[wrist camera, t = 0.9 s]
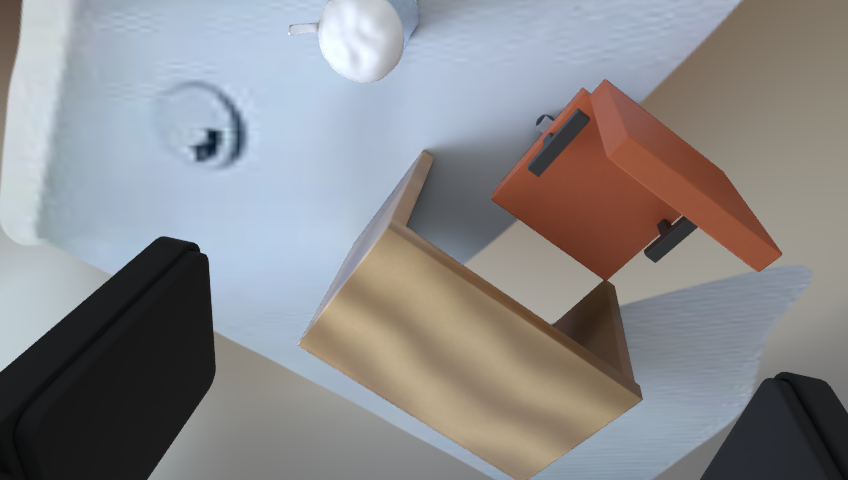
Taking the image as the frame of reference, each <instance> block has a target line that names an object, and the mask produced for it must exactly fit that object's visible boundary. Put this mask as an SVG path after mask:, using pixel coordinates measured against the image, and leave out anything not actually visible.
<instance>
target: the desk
mask: <svg viewBox="0 0 848 480" xmlns="http://www.w3.org/2000/svg"><path fill="white" fill-rule="evenodd" d="M433 160H434V157H433V156H431V155H430V154H428V153H427V152H425V151H424V150H423V151H422V153H421V154H420V155H419V157H418V158H417V159H416V161H415V162H414V163H413V165H412V166H411V167H410V169H409V170H408V172H407V173H406V174H405V176H404V177H403V178H402V180H401V181H400V182H399V184H398V185H397V186H396V188H395V189H394V190H393V192H392V193H391V195H390V196H389V197H388V199H387V200H386V201H385V203H384V204H383V205H382V207H381V208H380V209H379V211H378V212H377V213H376V215H375V216H374V218H373V219H372V220H371V222H370V223H369V224H368V226H367V227H366V228H365V230H364V231H363V232H362V234H361V235H360V236H359V238H358V239H357V241H356V242H355V243H354V245H353V246H352V248H351V250H350V252H349V253H348V255H347V257H346V259H345V261H344V262H343V264H342V266H341V268H340V270H339V272H338V273H337V275H336V277H335V279H334V281H333V282H332V284H331V286H330V288H329V290H328V291H327V293H326V295H325V297H324V299H323V300H322V302H321V304H320V306H319V308H318V310H317V311H316V313H315V315H314V317H313V319H312V320H311V322H310V324H309V326H308V328H307V330H306V331H305V332H304V334H303V336H302V337H301V339H300V341H299V343H298V346H299V347H301V348H302V349H304V350H306V351H307V352H309V353H311V354H312V355H314V356H315V357H317V358H319V359H320V360H322V361H324V362H325V363H327V364H328V365H330V366H332V367H333V368H335V369H337V370H338V371H340V372H341V373H343V374H345V375H346V376H348V377H350V378H351V379H353V380H354V381H356V382H358V383H359V384H361V385H363V386H364V387H366V388H367V389H369V390H371V391H372V392H374V393H376V394H377V395H379V396H380V397H382V398H384V399H385V400H387V401H389V402H390V403H392V404H393V405H395V406H397V407H398V408H400V409H402V410H403V411H405V412H406V413H408V414H410V415H411V416H413V417H415V418H416V419H418V420H419V421H421V422H423V423H424V424H426V425H428V426H429V427H431V428H432V429H434V430H436V431H437V432H439V433H441V434H442V435H444V436H445V437H447V438H449V439H450V440H452V441H454V442H455V443H457V444H459V445H460V446H462V447H463V448H465V449H467V450H468V451H470V452H472V453H473V454H475V455H476V456H478V457H480V458H481V459H483V460H485V461H486V462H488V463H489V464H491V465H493V466H494V467H496V468H498V469H499V470H501V471H502V472H504V473H506V474H507V475H509V476H511V477H512V478H514V479H515V480H528V479H530V478H531V477H533V476H534V475H535V474H537V473H538V472H540V471H541V470H543V469H544V468H546V467H547V466H548V465H550V464H551V463H553V462H554V461H556V460H557V459H558V458H560V457H561V456H563V455H564V454H566V453H567V452H569V451H570V450H571V449H573V448H574V447H576V446H577V445H579V444H580V443H582V442H583V441H584V440H586V439H587V438H589V437H590V436H592V435H593V434H594V433H596V432H597V431H599V430H600V429H602V428H603V427H605V426H606V425H607V424H609V423H610V422H612V421H613V420H615V419H616V418H618V417H619V416H620V415H622V414H623V413H625V412H626V411H628V410H629V409H630V408H632V407H633V406H635V405H636V404H638V403H639V402H641V401H642V400H643V398H642V393H641V389H640V385H638V384H637V383H635V380H634V376H633V371H632V366H631V361H630V357H629V352H628V347H627V342H626V338H625V333H624V328H623V323H622V319H621V314H620V309H619V304H618V300H617V295H616V290H615V286H614V285H612V284H611V283H610V282H608V281H605V280H604V281H603V282H601V283H600V284H599V285H598V286H597V287H596V288H594V289H593V290H592V291H591V292H590V293H589V294H588V295H587V296H585V297H584V298H583V299H582V300H581V301H580V302H579V303H577V304H576V305H575V306H574V307H573V308H572V309H571V310H569V311H568V312H567V313H566V314H565V315H564V316H563V317H562V318H561V319H559V320H558V321H557V322H556V323H555V324H553V325H550V324H549V323H547V322H546V321H544V320H543V319H541V318H540V317H538V316H537V315H535V314H534V313H533V312H531V311H530V310H528V309H527V308H525V307H524V306H522V305H521V304H519V303H518V302H516V301H515V300H514V299H512V298H511V297H509V296H508V295H506V294H505V293H503V292H502V291H500V290H499V289H497V288H496V287H494V286H493V285H492V284H490V283H489V282H487V281H485V280H484V279H482V278H481V277H480V276H478V275H477V274H475V273H474V272H472V271H471V270H469V269H468V268H467V267H465V266H464V265H462V264H461V263H459V262H458V261H456V260H455V259H453V258H452V257H450V256H449V255H447V254H446V253H445V252H443V251H442V250H440V249H439V248H437V247H436V246H434V245H433V244H431V243H430V242H428V241H427V240H425V239H424V238H422V237H421V236H420V235H418V234H417V233H415V232H414V231H412V230H411V229H409V228H408V227H406V225H407V223H408V220H409V218H410V216H411V213H412V211H413V208H414V206H415V204H416V201H417V199H418V196H419V194H420V192H421V189H422V187H423V184H424V182H425V180H426V177H427V175H428V172H429V170H430V168H431V165H432V163H433Z"/></svg>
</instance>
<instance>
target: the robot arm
mask: <svg viewBox="0 0 848 480" xmlns="http://www.w3.org/2000/svg"><path fill="white" fill-rule="evenodd" d="M215 371H216V365H215V351H214V335H213V320H212V305H211V290H210V275H209V261H208V257H207V255H205V254H203V253H200V248H199V247H198V245H197V244H195V243H193V242H188V241H184V240H179V239H175V238H170V237H165V236H163V237H159V238H158V239H156V240H155V241H154V242H152V243H151V244H150V245H149V246H148V247H147V248H145V249H144V250H143V251H142V252H141V253H140V254H138V255H137V256H136V257H135V258H134V259H132V260H131V261H130V262H129V263H128V264H127V265H125V266H124V267H123V268H122V269H121V270H120V271H118V272H117V273H116V274H115V275H114V276H113V277H111V278H110V279H109V280H108V281H107V282H106V283H104V284H103V285H102V286H101V287H100V288H99V289H97V290H96V291H95V292H94V293H93V294H91V295H90V296H89V297H88V298H87V299H86V300H84V301H83V302H82V303H81V304H80V305H79V306H77V307H76V308H75V309H74V310H73V311H72V312H71V313H69V314H68V315H67V316H66V317H65V318H63V319H62V320H61V321H60V322H59V323H58V324H56V325H55V326H54V327H53V328H52V329H51V330H50V331H48V332H47V333H46V334H45V335H44V336H42V337H41V338H40V339H39V340H38V341H37V342H35V343H34V344H33V345H32V346H31V347H29V348H28V349H27V350H26V351H25V352H24V353H22V354H21V355H20V356H19V357H18V358H17V359H15V360H14V361H13V362H12V363H11V364H9V365H8V366H7V367H6V368H5V369H4V370H2V371H1V372H0V480H147V479H148V478H149V476H150V475H151V473H152V472H153V470H154V469H155V467H156V466H157V464H158V463H159V462H160V460H161V459H162V457H163V456H164V454H165V453H166V451H167V450H168V448H169V447H170V445H171V444H172V443H173V441H174V439H175V438H176V437H177V435H178V434H179V432H180V431H181V429H182V428H183V426H184V425H185V424H186V422H187V421H188V419H189V418H190V416H191V415H192V413H193V412H194V410H195V409H196V407H197V406H198V405H199V403H200V402H201V400H202V399H203V397H204V396H205V394H206V393H207V391H208V390H209V388H210V386H211V384H212V382H213V379H214V376H215ZM700 480H848V413H847V411H846V410H845V408H844V407H843V405H842V404H841V402H840V401H839V399H838V398H837V396H836V394H835V393H834V391H833V390H832V389H831V387H830V386H829V385H828V384H827V382H825V381H823V380H821V379H816V378H812V377H807V376H802V375H798V374H793V373H789V372H781V373H779V374H777V375H776V376H775V377H774V378H768V379H765V380H764V381H763V382H762V383H761V385H760V387H759V388H758V390H757V391H756V393H755V394H754V396H753V397H752V399H751V400H750V402H749V404H748V405H747V407H746V408H745V410H744V411H743V413H742V415H741V416H740V418H739V419H738V421H737V422H736V424H735V426H734V427H733V429H732V430H731V432H730V433H729V435H728V436H727V438H726V440H725V441H724V443H723V444H722V446H721V447H720V449H719V451H718V452H717V454H716V456H715V457H714V459H713V460H712V462H711V463H710V465H709V466H708V468H707V469H706V471H705V473H704V474H703V476H702V477H701V479H700Z"/></svg>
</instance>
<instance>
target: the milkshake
mask: <svg viewBox="0 0 848 480" xmlns="http://www.w3.org/2000/svg"><path fill="white" fill-rule="evenodd" d="M418 22H419V14H418V4H417V2H416V1H415V0H330V1H329V2H328V3H327V4H326V5H325V7H324V9H323V11H322V13H321V16H320V20H319V23H310V24H298V25H290V26H289V35H296V34H305V33H315V32H318V38H319V45H320V48H321V51H322V53H323V55H324V57H325V59H326V60H327V61H328V63H329V64H330V65H331V66H332V67H333V69H334V70H336V71H337V72H338V73H339V74H341V75H342V76H344V77H346V78H349V79H352V80H355V81H358V82H374V81H377V80H380V79H382V78H383V77H385V76H386V75H387V74H389V73H390V72H391V71H392V70H393V69H394V68H395V66H396V65H397V64H398V62H399V60H400V58H401V56H402V54H403V51H404V49H405V47H406V44H407V42H408V40H409V38H410V37H411V35H412V33H413V31H414V29H415V27H416V25H417V24H418Z"/></svg>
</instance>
